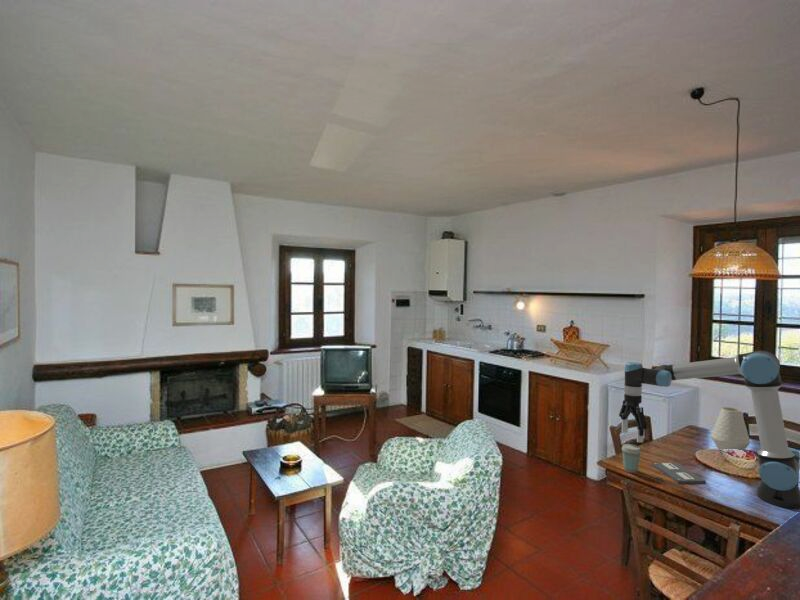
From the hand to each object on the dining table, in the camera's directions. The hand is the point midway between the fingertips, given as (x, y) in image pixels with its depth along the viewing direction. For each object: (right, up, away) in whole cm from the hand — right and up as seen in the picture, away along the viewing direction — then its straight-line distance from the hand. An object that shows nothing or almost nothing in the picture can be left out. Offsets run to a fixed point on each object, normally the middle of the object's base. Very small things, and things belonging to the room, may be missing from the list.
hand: (632, 437), depth 217 cm
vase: (+69, -16, +28) cm, 76 cm away
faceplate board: (+21, -17, -2) cm, 27 cm away
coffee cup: (0, -17, +1) cm, 17 cm away
